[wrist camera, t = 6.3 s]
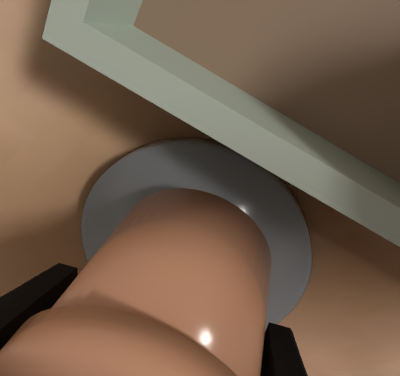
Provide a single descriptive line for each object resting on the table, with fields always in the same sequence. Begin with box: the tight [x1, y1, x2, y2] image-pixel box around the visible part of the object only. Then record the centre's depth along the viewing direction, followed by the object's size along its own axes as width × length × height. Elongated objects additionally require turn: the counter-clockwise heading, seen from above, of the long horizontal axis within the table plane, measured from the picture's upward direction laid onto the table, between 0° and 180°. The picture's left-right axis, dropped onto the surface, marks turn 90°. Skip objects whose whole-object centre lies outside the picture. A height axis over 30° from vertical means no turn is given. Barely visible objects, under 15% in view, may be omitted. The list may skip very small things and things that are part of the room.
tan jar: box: [0, 188, 272, 376], centre depth 9 cm, size 6×6×6 cm
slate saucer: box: [81, 138, 312, 330], centre depth 13 cm, size 9×9×1 cm
